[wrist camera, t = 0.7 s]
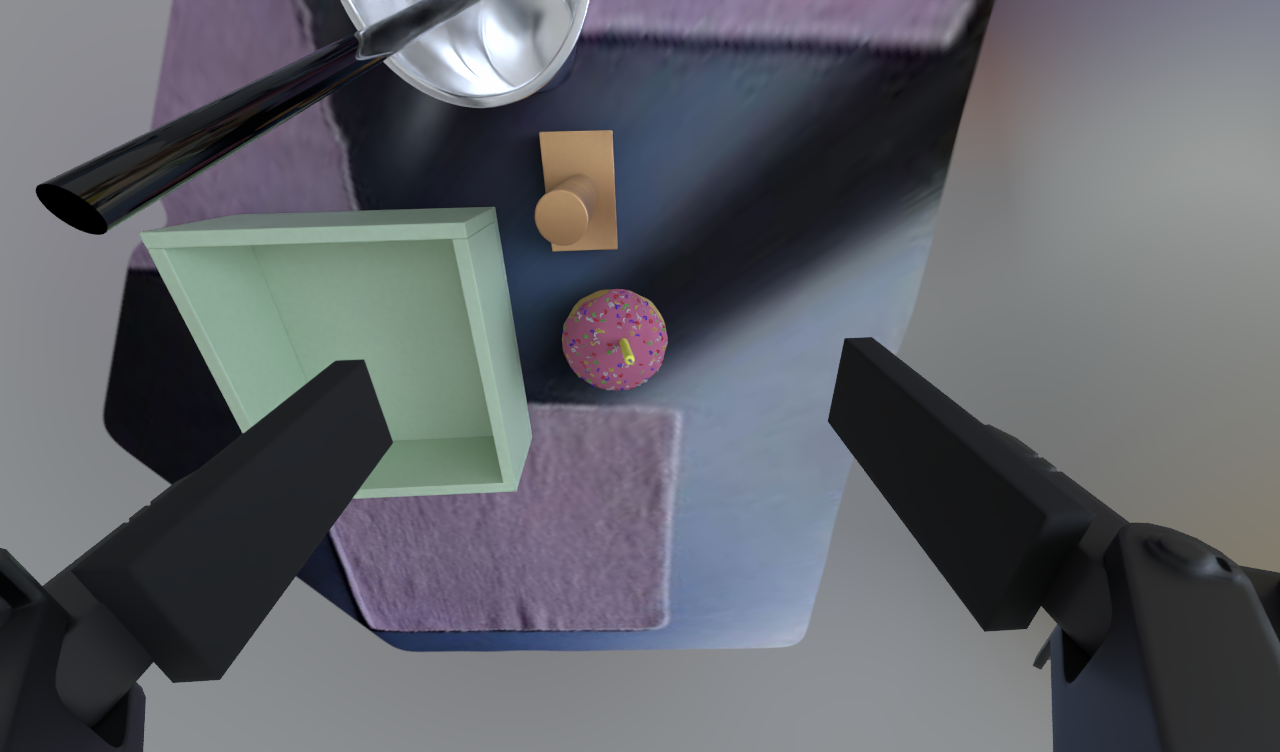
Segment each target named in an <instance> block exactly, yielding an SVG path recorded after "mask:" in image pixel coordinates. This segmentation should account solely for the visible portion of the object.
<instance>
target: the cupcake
mask: <svg viewBox="0 0 1280 752" xmlns="http://www.w3.org/2000/svg"><path fill="white" fill-rule="evenodd" d="M562 333H563V335H562V344H563V351H564V356H565V357H566V358H567V360H568V363H569V365H570V366H571V368H572V369H571V370H573V371H574V372H575V373H576V374H577V375H578V377H581V378H582V380H584V381H586V382H588V383H590V384H591V386H592V387H594V386H597V387H599V388H603V389H607V390H628V389H632V388H634V387H636V386H638V385H640V384H641V383H643V382H647V381H648V378H650V377H651V376H652V375H653V374H654V373H655V372H656V371H657V372H658V369H659V368H660V366H661V365H662V362H663V357H664V353H665V350H666V346H667V343H668V342H667V333H666V328H665V324H664V321H663V318H662V316H661V314H660V313H659V311H658V310H657V309H656V307H655V306H654V304H653V303H652V302H651V301H650V300H648V299H646V298H644V297H642V296H640V295H638V294H636V293H634V292H632V291H629V290H624V289H613V290H600V291H597V292H594V293H593V294H591V295H589V296H586V297H584V298H582V299H581V300H580V301H578V302H577V304H576V305H575V306H574V307H573V309H572V311H571V312H570V314H569V316H568V318H567V320H566V321H565V323H564V326H563V330H562ZM646 380H647V381H646Z"/></svg>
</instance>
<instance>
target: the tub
mask: <svg viewBox="0 0 1280 752" xmlns="http://www.w3.org/2000/svg"><path fill="white" fill-rule="evenodd" d="M139 235H140V237H141V239H142V241H143V242H144V244H145V246H146V248H148V252H149V254H150V256H151V257H152V259H153V261H154V263H155V265H156V267H157V269H158V271H159V273H160V275H161V277H162V279H163V281H164V283H165V284H166V286H167V288H168V290H169V292H170V294H171V296H172V298H173V300H174V302H175V304H176V306H177V308H178V310H179V311H180V313H181V315H182V317H183V319H184V321H185V323H186V325H187V327H188V329H189V331H190V333H191V335H192V337H193V338H194V340H195V342H196V344H197V346H198V348H199V350H200V352H201V354H202V356H203V358H204V360H205V362H206V364H207V365H208V367H209V369H210V371H211V373H212V375H213V377H214V379H215V381H216V383H217V385H218V387H219V389H220V391H221V392H222V394H223V396H224V398H225V400H226V402H227V404H228V406H229V408H230V410H231V412H232V414H233V416H234V418H235V419H236V421H237V423H238V425H239V427H240V429H241V431H242V433H245V432H246V431H247V430H248V429H250V428H251V427H252V426H253V425H255V424H256V423H257V422H258V421H260V420H261V419H262V418H263V417H265V416H266V415H267V414H269V413H270V412H271V411H272V410H274V409H275V408H276V407H277V406H279V405H280V404H281V403H282V402H284V401H285V400H286V399H287V398H289V397H290V396H291V395H292V394H294V393H295V392H296V391H298V390H299V389H300V388H301V387H303V386H304V385H305V384H306V383H308V382H309V381H310V380H311V379H313V378H314V377H315V376H316V375H318V374H319V373H320V372H321V371H323V370H324V369H325V368H327V367H328V366H329V365H330V364H332V363H333V362H334V361H337V360H360V359H364V360H365V363H366V366H367V369H368V372H369V374H370V377H371V380H372V383H373V386H374V389H375V392H376V395H377V397H378V400H379V403H380V406H381V409H382V412H383V415H384V417H385V420H386V423H387V426H388V429H389V432H390V435H391V437H392V440H393V444H392V445H391V446H390V448H389V449H388V451H387V452H386V453H385V455H384V456H383V457H382V459H381V460H380V461H379V463H378V464H377V466H376V467H375V468H374V470H373V471H372V472H371V474H370V475H369V477H368V478H367V479H366V481H365V482H364V483H363V485H362V486H361V487H360V489H359V490H358V492H357V493H356V494H355V496H354V497H353V498H352V499H358V498H380V497H402V496H424V495H446V494H468V493H489V492H511V491H517V488H518V484H519V481H520V477H521V474H522V471H523V467H524V464H525V461H526V457H527V454H528V450H529V447H530V444H531V440H532V432H531V425H530V419H529V413H528V407H527V401H526V394H525V388H524V382H523V376H522V370H521V364H520V357H519V351H518V345H517V339H516V333H515V326H514V320H513V314H512V308H511V302H510V296H509V289H508V283H507V277H506V271H505V265H504V258H503V252H502V246H501V240H500V234H499V228H498V221H497V215H496V209H495V207H469V208H435V209H402V210H368V211H335V212H301V213H267V214H236V215H230V216H225V217H219V218H214V219H208V220H203V221H198V222H192V223H187V224H181V225H176V226H170V227H165V228H160V229H154V230H149V231H143V232H139Z"/></svg>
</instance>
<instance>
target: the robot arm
mask: <svg viewBox="0 0 1280 752" xmlns="http://www.w3.org/2000/svg"><path fill="white" fill-rule="evenodd" d="M828 422H829V424H830V425H831V426H832V428H833V429H834V430H835V432H836V433H837V434H838V436H839V437H840V438H841V440H842V441H843V442H844V444H845V445H846V446H847V448H848V449H849V450H850V452H851V453H852V454H853V456H854V457H855V459H856V460H857V461H858V462H859V464H860V465H861V466H862V468H863V469H864V471H865V472H866V473H867V475H868V476H869V477H870V478H871V480H872V481H873V483H874V484H875V485H876V487H877V488H878V489H879V491H880V492H881V493H882V495H883V496H884V497H885V499H886V500H887V501H888V503H889V504H890V505H891V507H892V508H893V509H894V511H895V512H896V513H897V515H898V516H899V517H900V519H901V520H902V521H903V523H904V524H905V526H906V527H907V528H908V529H909V531H910V532H911V533H912V535H913V536H914V538H915V539H916V540H917V542H918V543H919V544H920V546H921V547H922V548H923V550H924V551H925V552H926V553H927V555H928V556H929V558H930V559H931V560H932V562H933V563H934V564H935V566H936V567H937V568H938V570H939V571H940V572H941V574H942V575H943V576H944V578H945V579H946V580H947V582H948V583H949V584H950V586H951V587H952V589H953V590H954V591H955V593H956V594H957V595H958V596H959V598H960V599H961V600H962V602H963V603H964V604H965V606H966V607H967V609H968V610H969V611H970V612H971V614H972V615H973V616H974V618H975V619H976V621H977V622H978V623H979V625H980V626H981V627H982V629H983V630H984V631H1000V630H1016V629H1027V628H1028V626H1029V625H1030V623H1031V621H1032V619H1033V618H1034V616H1035V615H1036V613H1037V611H1038V610H1039V608H1040V606H1042V607H1043V608H1044V609H1045V610H1046V612H1047V613H1048V614H1049V615H1050V616H1051V617H1052V618H1053V619H1054V620H1055V621H1056V623H1057V626H1056V627H1055V628H1054V630H1053V632H1052V633H1051V635H1050V636H1049V638H1048V639H1047V641H1046V642H1045V644H1044V645H1043V647H1042V648H1041V650H1040V651H1039V653H1038V655H1037V656H1036V658H1035V661H1034V664H1033V666H1035V667H1037V668H1039V669H1042V667H1043V666H1044V664H1045V663H1046V661H1047V660H1049V659H1051V685H1052V721H1053V752H1280V573H1278V572H1272V571H1266V570H1261V569H1255V568H1249V567H1244V566H1239V565H1237V564H1236V563H1235V562H1233V561H1232V560H1231V559H1229V558H1228V557H1227V556H1225V555H1224V554H1223V553H1222V552H1220V551H1219V550H1217V549H1215V548H1213V547H1211V546H1210V545H1207V544H1206V543H1204V542H1202V541H1200V540H1198V539H1197V538H1194V537H1192V536H1189V535H1186V534H1184V533H1182V532H1179V531H1176V530H1174V529H1171V528H1167V527H1163V526H1159V525H1154V524H1150V523H1129V522H1128V521H1127V520H1125V519H1124V518H1123V517H1121V516H1120V515H1118V514H1117V513H1116V512H1115V511H1113V510H1112V509H1110V508H1109V507H1108V506H1107V505H1105V504H1104V503H1103V502H1101V501H1100V500H1099V499H1097V498H1096V497H1095V496H1093V495H1092V494H1091V493H1089V492H1088V491H1087V490H1085V489H1084V488H1083V487H1081V486H1080V485H1079V484H1077V483H1076V482H1075V481H1073V480H1072V479H1071V478H1069V477H1068V476H1066V475H1065V474H1064V473H1063V472H1057V470H1056V467H1055V466H1053V465H1052V464H1051V463H1049V462H1048V461H1047V460H1045V459H1044V458H1039V457H1038V454H1037V453H1036V452H1035V451H1033V450H1032V449H1030V448H1029V447H1028V446H1027V445H1025V444H1024V443H1023V442H1021V441H1020V440H1018V439H1017V438H1015V437H1013V436H1011V435H1009V434H1007V433H1005V432H1003V431H1001V430H999V429H997V428H995V427H993V426H991V425H984V424H982V423H981V422H980V421H978V420H977V419H976V418H975V417H973V416H972V415H971V414H969V413H968V412H967V411H966V410H964V409H963V408H962V407H960V406H959V405H958V404H957V403H955V402H954V401H953V400H951V399H950V398H949V397H948V396H946V395H945V394H944V393H942V392H941V391H940V390H939V389H937V388H936V387H935V386H933V385H932V384H931V383H930V382H928V381H927V380H926V379H925V378H923V377H922V376H921V375H919V374H918V373H917V372H916V371H914V370H913V369H912V368H910V367H909V366H908V365H907V364H905V363H904V362H903V361H902V360H900V359H899V358H898V357H896V356H895V355H894V354H893V353H891V352H890V351H889V350H887V349H886V348H885V347H884V346H882V345H881V344H880V343H879V342H877V341H876V340H875V339H873V338H872V337H867V338H845V339H844V344H843V349H842V354H841V359H840V364H839V369H838V374H837V379H836V384H835V389H834V394H833V398H832V403H831V408H830V413H829V418H828ZM392 444H393V440H392V437H391V435H390V432H389V429H388V426H387V423H386V420H385V417H384V415H383V412H382V409H381V406H380V403H379V400H378V397H377V395H376V392H375V389H374V386H373V383H372V380H371V377H370V374H369V372H368V369H367V366H366V363H365V360H364V359H360V360H337V361H334V362H333V363H332V364H330V365H329V366H328V367H327V368H325V369H324V370H323V371H321V372H320V373H319V374H318V375H316V376H315V377H314V378H313V379H311V380H310V381H309V382H308V383H306V384H305V385H304V386H303V387H301V388H300V389H299V390H298V391H296V392H295V393H294V394H292V395H291V396H290V397H289V398H287V399H286V400H285V401H284V402H282V403H281V404H280V405H279V406H277V407H276V408H275V409H274V410H272V411H271V412H270V413H269V414H267V415H266V416H265V417H263V418H262V419H261V420H260V421H258V422H257V423H256V424H255V425H253V426H252V427H251V428H250V429H248V430H247V431H246V432H245V433H243V434H242V435H241V436H240V437H238V438H237V439H236V440H234V441H233V442H232V443H231V444H229V445H228V446H227V447H226V448H224V449H223V450H222V451H221V452H219V453H218V454H217V455H216V456H214V457H213V458H212V459H211V460H209V461H208V462H207V463H205V464H204V465H203V466H202V467H200V468H199V469H198V470H197V471H195V472H193V473H191V474H190V475H188V476H186V477H184V478H182V479H180V480H179V481H177V482H175V483H174V484H173V485H171V486H170V487H169V488H167V489H166V490H165V491H164V492H162V493H161V494H160V495H159V496H157V497H156V498H155V499H153V500H152V501H151V505H150V506H144V507H143V508H142V509H141V510H139V511H138V512H137V513H135V514H134V515H133V516H132V517H130V518H129V522H128V523H123V524H121V525H120V526H119V527H118V528H116V529H115V530H114V531H112V532H111V533H110V534H109V535H107V536H106V537H105V538H104V539H102V540H101V541H100V542H99V543H97V544H96V545H95V546H93V547H92V548H91V549H89V550H88V551H87V552H86V553H84V554H83V555H82V556H81V557H79V558H78V559H77V560H75V561H74V562H73V563H72V564H70V565H69V566H68V567H66V568H65V569H64V570H63V571H61V572H60V573H59V574H57V575H56V576H55V577H54V578H52V579H51V580H50V581H48V582H47V583H46V584H45V585H43V586H41V585H40V584H39V583H38V582H37V580H36V579H34V577H32V576H31V574H30V573H28V571H27V570H26V569H25V568H24V567H23V566H22V565H21V564H20V563H19V562H18V561H17V560H16V559H15V558H14V557H13V556H12V555H11V554H10V553H9V552H8V551H7V550H6V549H2V548H0V752H143V742H144V721H145V701H146V700H145V699H146V697H145V694H144V692H143V689H142V687H141V686H140V685H139V684H138V683H137V682H136V681H137V680H138V679H139V678H140V676H141V675H142V674H143V673H144V672H145V671H146V670H147V669H148V667H149V666H150V665H151V664H152V663H153V662H154V663H155V664H156V665H157V666H158V667H159V668H160V669H161V670H162V671H163V672H164V674H165V675H166V676H167V677H168V678H169V679H170V680H171V681H172V682H173V683H176V682H193V681H208V680H220V679H221V678H222V676H223V675H224V673H225V672H226V671H227V669H228V668H229V667H230V665H231V664H232V662H233V661H234V660H235V658H236V657H237V656H238V654H239V653H240V651H241V650H242V649H243V647H244V646H245V645H246V643H247V642H248V641H249V639H250V638H251V637H252V635H253V634H254V632H255V631H256V630H257V628H258V627H259V626H260V624H261V623H262V621H263V620H264V619H265V617H266V616H267V615H268V613H269V612H270V611H271V609H272V608H273V606H274V605H275V604H276V602H277V601H278V600H279V598H280V597H281V596H282V594H283V593H284V591H285V590H286V589H287V587H288V586H289V585H290V583H291V581H292V580H293V579H294V578H295V576H296V575H297V574H298V572H299V571H300V570H301V568H302V567H303V565H304V564H305V563H306V561H307V560H308V559H309V557H310V556H311V555H312V553H313V552H314V550H315V549H316V548H317V546H318V545H319V544H320V542H321V541H322V539H323V538H324V537H325V535H326V534H327V533H328V531H329V530H330V529H331V527H332V526H333V524H334V523H335V522H336V520H337V519H338V518H339V516H340V515H341V513H342V512H343V511H344V509H345V508H346V507H347V505H348V504H349V503H350V501H351V500H352V498H353V497H354V496H355V494H356V493H357V492H358V490H359V489H360V487H361V486H362V485H363V483H364V482H365V481H366V479H367V478H368V477H369V475H370V474H371V472H372V471H373V470H374V468H375V467H376V466H377V464H378V463H379V461H380V460H381V459H382V457H383V456H384V455H385V453H386V452H387V451H388V449H389V448H390V446H391V445H392Z"/></svg>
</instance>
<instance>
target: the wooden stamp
mask: <svg viewBox="0 0 1280 752" xmlns="http://www.w3.org/2000/svg"><path fill="white" fill-rule="evenodd" d="M539 138H540V147H541V156H542V165H543V174H544V183H545V192H546V194H545V195H544V196H542V198H541V199H540V200H539V201H538V203H537V206H536V209H535V223H536V226H537V228H538V230H539V232H540V233H541V235H542V236H543V237H544V238H545V239H546V240H548V241H549V242H551V245H552V251H577V250H608V249H618V234H617V212H616V189H615V167H614V145H613V131H612V130H597V131H558V132H539Z"/></svg>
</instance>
